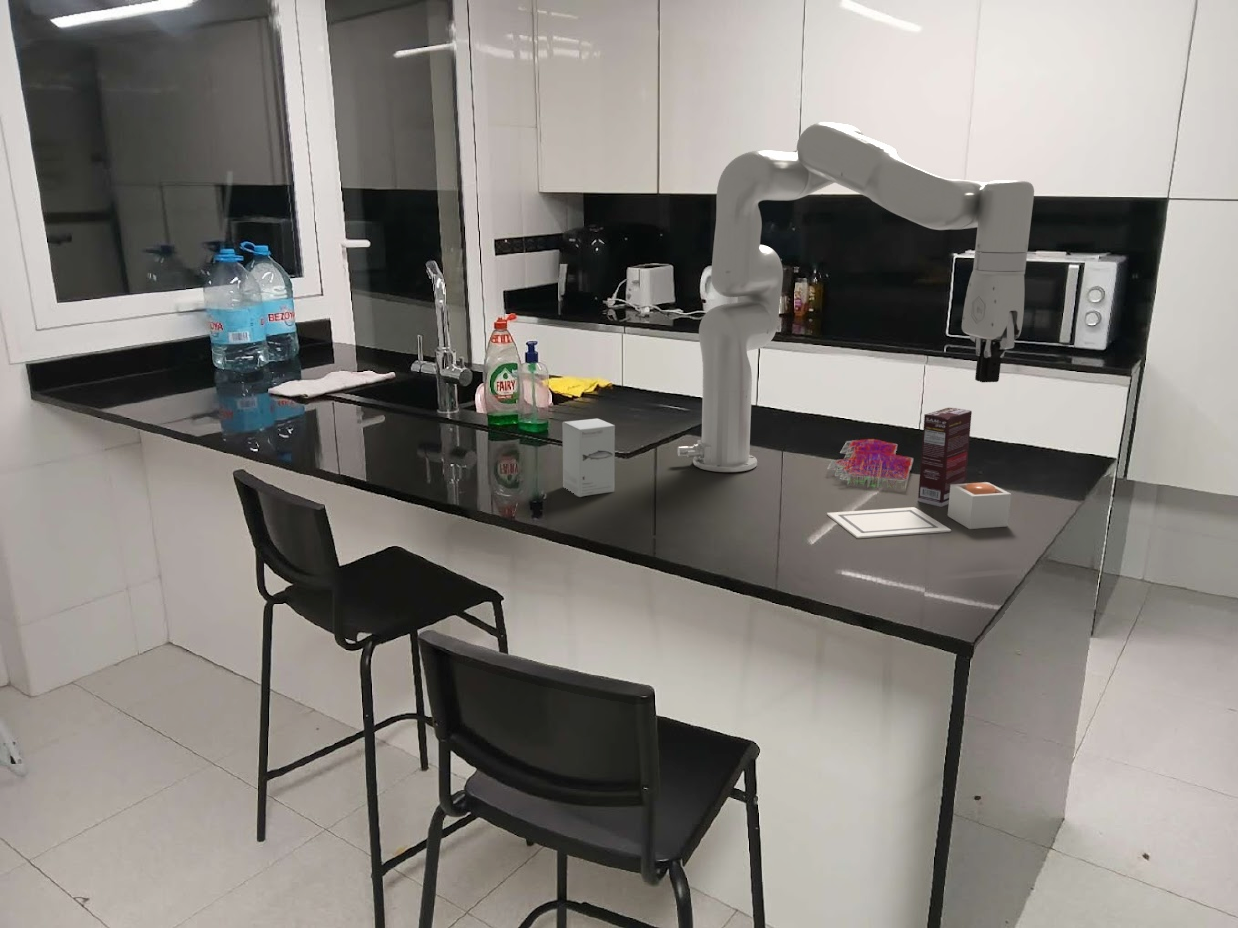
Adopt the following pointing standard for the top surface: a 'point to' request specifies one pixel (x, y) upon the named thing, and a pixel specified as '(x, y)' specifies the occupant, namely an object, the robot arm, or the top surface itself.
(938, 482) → the supplement box
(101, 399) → the top surface
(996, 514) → the button housing
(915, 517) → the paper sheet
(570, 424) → the supplement box
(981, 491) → the button
